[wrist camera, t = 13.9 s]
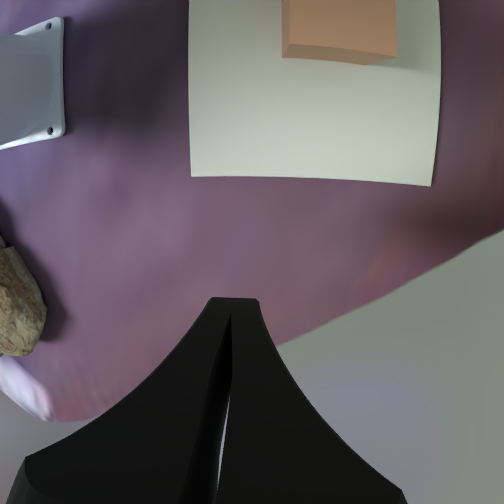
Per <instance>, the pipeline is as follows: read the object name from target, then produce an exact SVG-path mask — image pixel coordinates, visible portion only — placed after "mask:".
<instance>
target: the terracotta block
mask: <svg viewBox="0 0 504 504" xmlns="http://www.w3.org/2000/svg"><path fill="white" fill-rule="evenodd" d="M396 57H397V22H396V2H395V0H282V58H299V59H314V60H326V61H336V62H345V63H353V64H360V65H367V64H371V63H375V62H379V61H383V60H387V59H392V58H396Z"/></svg>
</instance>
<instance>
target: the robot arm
mask: <svg viewBox="0 0 504 504" xmlns="http://www.w3.org/2000/svg"><path fill="white" fill-rule="evenodd" d="M50 24H52V26H51V28H50V29H49V26H50ZM63 33H64V20H63V18H61V17H54V18H52V19H49V20H46V21H44V22H41V23H39V24H36V25H34V26H31V27H29V28H27V29H24V30H22V31H20V32H18V33H15V34H6V33H0V150H2V149H6V148H10V147H14V146H19V145H23V144H28V143H32V142H37V141H42V140H47V139H52V138H58V137H61V136H62V135H63V134H64V133H65V116H64V98H63ZM51 127H52V128H53V134H52V133H51V131H50V129H51ZM229 397H230V401H229ZM228 403H229V410H228V418H227V425H226V434H225V441H224V448H223V455H222V463H221V470H220V477H219V484H218V470H219V456H220V448H221V441H222V435H223V430H224V424H225V419H226V414H227V408H228ZM217 485H218V490H217ZM6 504H408V503H407V501H406V499H405V497H404V494H403V492H402V490H401V489H400V488H398V487H397V486H396V485H394V484H393V483H391V482H390V481H389V480H388V479H386V478H385V477H384V476H382V475H381V474H380V473H379V472H377V471H376V470H375V469H374V468H372V467H371V466H370V465H369V464H368V463H367V462H365V461H364V460H363V459H362V458H361V457H360V456H359V455H358V454H357V453H356V452H355V451H353V450H352V449H351V448H350V447H349V446H348V445H347V444H346V443H345V442H344V441H343V440H342V439H341V437H340V436H339V435H338V434H337V433H336V432H335V431H334V430H333V429H332V428H331V427H330V426H329V425H328V424H327V422H326V421H325V420H324V419H323V418H322V417H321V416H320V414H319V413H318V412H317V411H316V410H315V408H314V407H313V406H312V405H311V403H310V402H309V401H308V400H307V398H306V396H305V395H304V394H303V392H302V391H301V389H300V388H299V387H298V385H297V384H296V382H295V381H294V379H293V377H292V376H291V374H290V373H289V371H288V369H287V368H286V366H285V364H284V362H283V361H282V359H281V357H280V355H279V353H278V351H277V349H276V347H275V345H274V343H273V341H272V339H271V337H270V335H269V332H268V330H267V328H266V325H265V322H264V320H263V317H262V313H261V310H260V305H259V301H257V300H256V299H252V298H223V297H212V298H211V299H210V300H209V301H208V303H207V304H206V306H205V307H204V309H203V311H202V312H201V314H200V315H199V317H198V318H197V319H196V321H195V322H194V324H193V325H192V326H191V328H190V329H189V330H188V332H187V333H186V334H185V335H184V337H183V338H182V339H181V341H180V342H179V343H178V344H177V346H176V347H175V348H174V349H173V350H172V351H171V352H170V354H169V355H168V356H167V357H166V358H165V359H164V360H163V361H162V363H161V364H160V365H159V366H158V367H157V368H156V369H155V370H154V371H153V372H152V373H151V374H150V375H149V376H148V377H147V378H146V379H145V380H144V381H143V382H142V383H140V384H139V385H138V386H137V387H136V388H135V389H134V390H133V391H131V392H130V393H129V394H128V395H127V396H125V397H124V398H123V399H122V400H121V401H119V402H118V403H117V404H116V405H114V406H113V407H112V408H110V409H109V410H108V411H106V412H105V413H104V414H102V415H101V416H99V417H98V418H96V419H95V420H93V421H92V422H90V423H88V424H87V425H86V426H84V427H82V428H81V429H79V430H78V431H76V432H74V433H73V434H71V435H70V436H68V437H66V438H64V439H62V440H60V441H58V442H57V443H54V444H52V445H51V446H48V447H46V448H44V449H42V450H40V451H38V452H36V453H34V454H31V455H29V456H26V457H25V459H24V461H23V463H22V465H21V467H20V469H19V471H18V473H17V476H16V478H15V481H14V483H13V486H12V489H11V491H10V494H9V497H8V499H7V502H6Z"/></svg>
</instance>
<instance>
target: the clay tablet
mask: <svg viewBox="0 0 504 504" xmlns="http://www.w3.org/2000/svg"><path fill="white" fill-rule="evenodd" d="M46 314H47V308H46V306H45V305H44V303H43V300H42V295H41V291H40V289H39V287H38V284H37V282H36V280H35V278H34V277H33V275H32V274H31V273H30V271H29V270H28V269H27V267H26V265H25V263H24V261H23V259H22V257H21V256H20V255H19V254H18V252H17V251H16V249H15V248H14V246H11V247H9V248H6V244H5V241H4V239H3V238H2V237H1V235H0V357H1V356H2V355H3V354H8V355H12V356H26V355H28V354H30V353H32V351H33V349H34V347H35V345H36V344H37V342H38V340H39V338H40V334H41V333H42V330H43V327H44V322H45V321H46Z"/></svg>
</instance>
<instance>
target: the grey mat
mask: <svg viewBox="0 0 504 504" xmlns="http://www.w3.org/2000/svg"><path fill="white" fill-rule="evenodd" d="M395 2H396V22H397V57H396V58H392V59H387V60H383V61H379V62H375V63H371V64H367V65H360V64H353V63H345V62H336V61H326V60H314V59H299V58H282V0H189V35H188V86H189V131H190V158H191V177H193V176H277V177H309V178H331V179H349V180H364V181H378V182H390V183H402V184H412V185H422V186H431V180H432V173H433V166H434V158H435V150H436V141H437V131H438V119H439V105H440V83H441V37H440V16H439V2H438V0H395Z"/></svg>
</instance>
